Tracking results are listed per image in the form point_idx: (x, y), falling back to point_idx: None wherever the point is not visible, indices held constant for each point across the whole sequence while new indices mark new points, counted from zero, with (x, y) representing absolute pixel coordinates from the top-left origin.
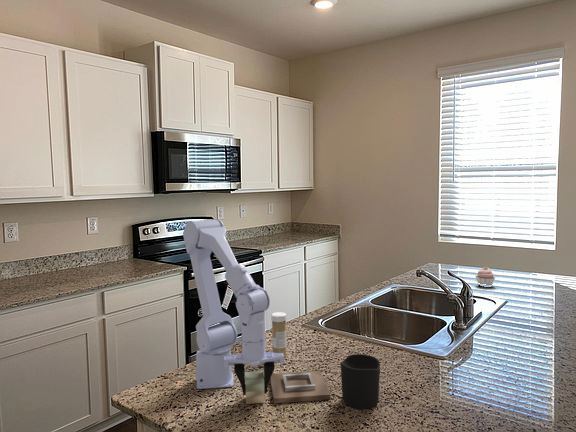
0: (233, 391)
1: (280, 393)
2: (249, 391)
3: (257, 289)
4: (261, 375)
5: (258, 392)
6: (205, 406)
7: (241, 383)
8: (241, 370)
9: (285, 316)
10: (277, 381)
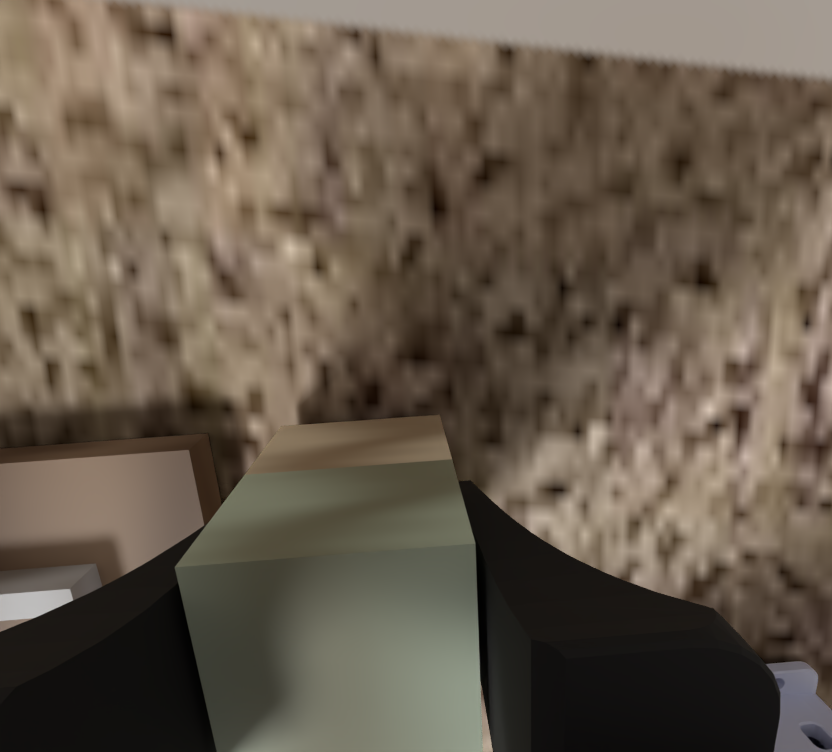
0: None
1: (138, 533)
2: (410, 462)
3: None
4: (232, 666)
5: (314, 462)
6: (755, 421)
7: (519, 531)
8: (614, 672)
9: None
10: None
